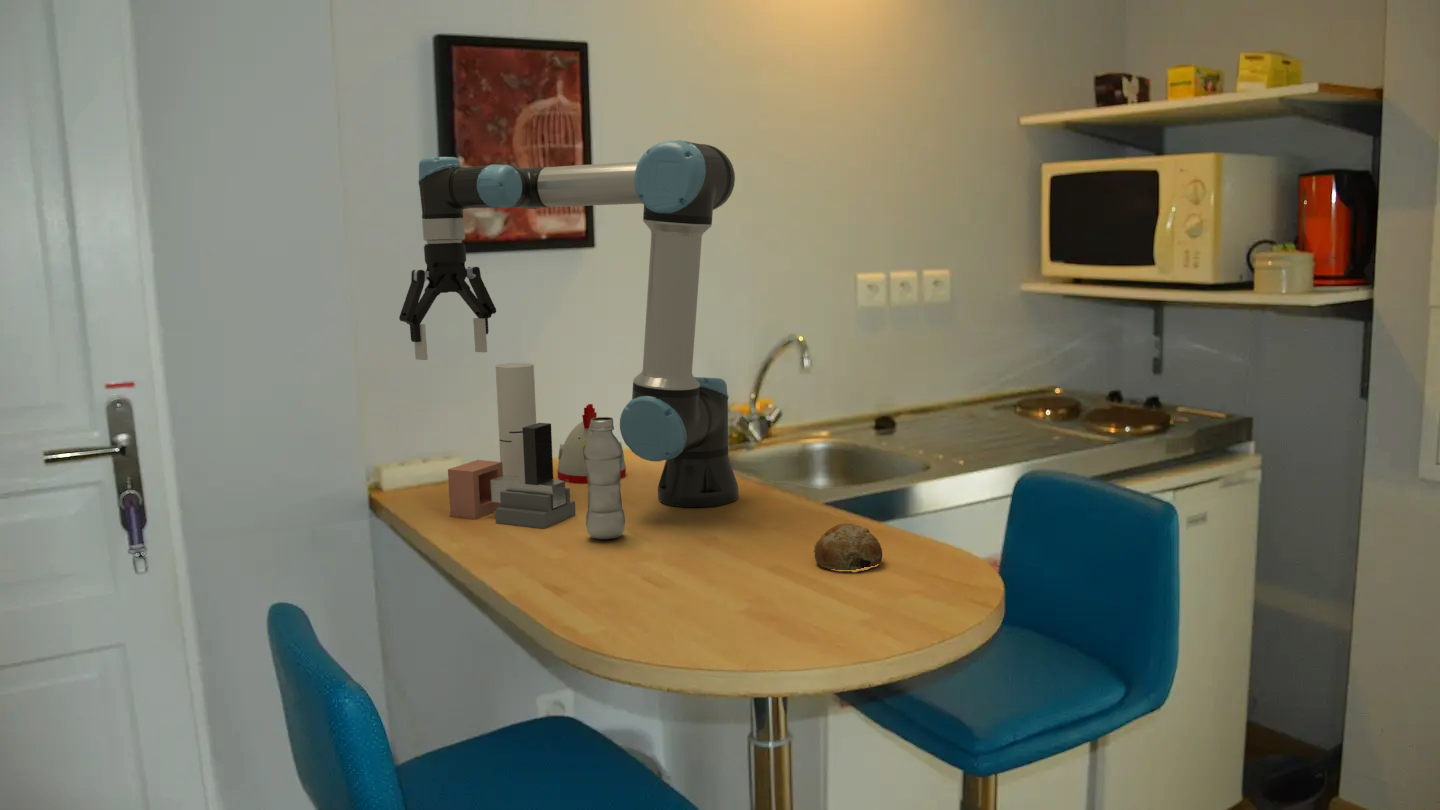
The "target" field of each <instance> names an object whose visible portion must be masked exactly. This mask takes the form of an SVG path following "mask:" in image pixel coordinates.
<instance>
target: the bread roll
mask: <svg viewBox="0 0 1440 810" xmlns="http://www.w3.org/2000/svg"><path fill="white" fill-rule="evenodd" d="M813 554H814V559H815V562H816V563H817V564H818V565H819V566H822V567H824V568H823V569H826V568H827V569H826V570H829V569H835V570H856V569H861V568H864V567H871V566H875V565H877V564H880V565H881V563H882V560H883V549H882V545H881V544H880V542H879V540H878V538H877V537H876V536H875V535H874V534H872V533H871V532H870V530H869V529H868V528H867V527H864V526H861V525H859V524H855V523H848V522H846V523H845V522H844V523H840V524H836V525H834V526H833V527H830V528H829V529H828V530H826V531H825V532H824V533H823V534H822V535H820V538H819V539H817V541H816V542H815V545H814V549H813ZM822 567H821V568H822Z"/></svg>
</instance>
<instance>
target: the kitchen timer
mask: <svg viewBox="0 0 1440 810" xmlns="http://www.w3.org/2000/svg"><path fill="white" fill-rule="evenodd" d="M593 405H594V404H593V403H588V404H587V405H586V406H585V407H583V414H582V415H581V417H582V421H581V422H579V423H578V424H577V425H576V426H574V427H573V429H571V431H570V433H569V434H568V435H567V437H566V439H565V441H564V443H563V444H559V450H558V464H557V479H558V480H559V481H565V483H569V484H577V485H580V484H581V485H588V481H587V472H586V467H585V461H584V455H583V450H584V446H585V444H586V443H587V441H588V439H589V438H590V436H591V435H592V431H591V430H590V427H591V419H592V418H596V417H598V415H597V411H596V410H595V409H596V408H595V407H593ZM619 443H620V444H621V447H622V463H621V478H620V480H622V479H624V477H626V475H627V474H626V473H627V471H626V469H627V468H626V462H625V453H624V450H623V446H622V445H623V444H622V442H621V441H619Z"/></svg>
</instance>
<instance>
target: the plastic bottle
mask: <svg viewBox="0 0 1440 810" xmlns="http://www.w3.org/2000/svg"><path fill="white" fill-rule="evenodd" d="M590 430H591V431H592V435H591V436H590V438H589V439H588V441H587V443H586V444H585V446H584V450H583V455H584V461H585V467H586V472H587V481H588V484H587V490H588V495H587V496H588V497H587V512H586V515H585V516H586V518H585V526H586V531H587V534H588V535H589V536H590V538H592V539H594V540H595V539H596V540H609V539H616V538H619V537H621V536H623V533H624V532H625V529H626V522H627V521H626V515H625V511H624V509H623V500H622V492H621V479H620V478H621V463H622V449H623V446H622V447H621V444H620V443H619V442H620V441H619V439H618V438H617V437H616V436H615V435H614V433H613V431H614V430H615V426H614V418H613V417H610V416H597V417H596V418H592V419H591V427H590Z"/></svg>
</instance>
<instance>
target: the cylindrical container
mask: <svg viewBox="0 0 1440 810" xmlns="http://www.w3.org/2000/svg"><path fill="white" fill-rule="evenodd" d="M534 365H535V364H534V363H532V362H510V363H499V364H496V365H495V377H496V378H495V379H496V380H495V381H496V396H497V397H496V399H497V401H496V404H497V419H498V423H497V424H498V439H499V460H500V461H499V462H502V467H503V475H507V476H518V477H525V470H524V448H523V427H526V426H530V425H533V424H536V423H537V410H536V409H537V407H536V406H537V405H536V387H535V385H536V383H535V366H534Z"/></svg>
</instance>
